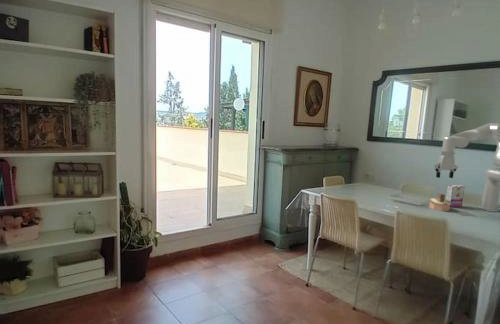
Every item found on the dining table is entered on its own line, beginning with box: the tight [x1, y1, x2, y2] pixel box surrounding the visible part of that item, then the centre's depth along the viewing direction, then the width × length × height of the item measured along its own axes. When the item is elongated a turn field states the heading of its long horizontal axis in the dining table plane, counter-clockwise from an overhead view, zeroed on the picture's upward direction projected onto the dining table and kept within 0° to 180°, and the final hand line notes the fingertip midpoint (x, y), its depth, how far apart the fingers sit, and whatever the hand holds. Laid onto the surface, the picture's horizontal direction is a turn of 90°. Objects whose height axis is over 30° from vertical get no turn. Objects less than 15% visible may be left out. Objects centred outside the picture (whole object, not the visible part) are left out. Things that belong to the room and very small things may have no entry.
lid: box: [429, 193, 452, 205], centre depth 233 cm, size 14×14×6 cm
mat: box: [452, 210, 478, 217], centre depth 224 cm, size 11×11×1 cm
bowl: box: [428, 201, 451, 212], centre depth 233 cm, size 12×12×5 cm
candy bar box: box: [445, 184, 465, 208], centre depth 241 cm, size 11×5×16 cm, turn 105°
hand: (444, 177), depth 230 cm, fingers open, 9 cm apart
